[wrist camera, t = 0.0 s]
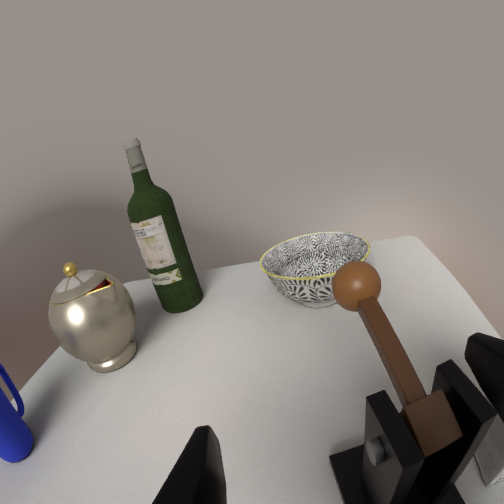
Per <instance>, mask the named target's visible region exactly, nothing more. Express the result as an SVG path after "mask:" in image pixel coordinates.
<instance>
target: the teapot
mask: <svg viewBox="0 0 504 504" xmlns="http://www.w3.org/2000/svg"><path fill="white" fill-rule="evenodd" d="M63 269H64V273H65V275H66V276H67V277H66V278H64V279H63V280H62V281H61V282H60V283H59V284H58V286H57V287H56V289H55V290H54V292H53V294H52V297H51V300H50V303H49V312H48V313H49V314H48V315H49V323H50V328H51V331H52V333H53V335H54V337H55V339H56V340H57V342H58V343H59V345H60V346H61V347H62V348H63V349H64V350H65V351H66V352H67V353H69V354H70V355H71V356H73V357H75V358H77V359H79V360H82V361H86V362H87V363H88V366H89V367H90V368H91V369H92V370H94V371H96V372H100V373H106V372H111V371H114V370H117V369H119V368H120V367H122V366H124V365H125V364H126V363H127V362H129V361H130V359H131V358H132V357H133V356H134V354H135V351H136V342H135V340H134V338H133V337H132V336H133V334H134V330H135V325H136V312H135V307H134V303H133V301H132V298H131V296H130V294H129V292H128V291H127V289H126V288H125V287H124V286H123V284H121V282H119V281H118V280H117V279H116V278H114V277H113V276H111V275H109V274H107V273H105V272H102V271H98V270H82V271H78V272H77V267H76V265H75V264H74V263H72V262H68V263H66V264H65V265H64V268H63Z"/></svg>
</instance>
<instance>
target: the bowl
mask: <svg viewBox="0 0 504 504" xmlns="http://www.w3.org/2000/svg"><path fill="white" fill-rule="evenodd" d="M369 252H370V245H369V243H368V242H367V241H366V240H365V239H364V238H362V237H360V236H358V235H355V234H351V233H345V232H319V233H312V234H307V235H302V236H298V237H295V238H292V239H289V240H286V241H284V242H281V243H279V244H277V245H275V246H274V247H272V248H271V249H269V250H268V251H267V252H265V253H264V255H263V256H262V257H261V259H260V267H261V269H262V270H263V271H264V272H265V273H266V274H267V275H268V276H269V278H270V279H271V281H272V282H273V283H274V285H275V286H276V287H277V289H278V290H279V291H280V292H281V293H282V294H283V295H285V296H286V297H288V298H290V299H292V300H294V301H297V302H300V303H301V304H303V305H305V306H307V307H312V308H321V307H327V306H330V305H332V304H334V303H336V300H335V298H334V296H333V293H332V280H333V277H334V275H335V273H336V272H337V270H338V269H339V268H340V267H341V266H342V265H344V264H346V263H348V262H351V261H363V262H365V260H366V258H367V256H368V254H369Z"/></svg>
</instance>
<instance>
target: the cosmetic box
mask: <svg viewBox="0 0 504 504" xmlns="http://www.w3.org/2000/svg"><path fill="white" fill-rule="evenodd" d="M486 399H487V400H488V398H487V397H486ZM488 402H489V403H490V401H489V400H488ZM490 404H491V403H490ZM491 405H492V404H491ZM493 408H494V407H493ZM474 455H475V457H476V460H477V463H478V465H479V468H480V471H481V473H482V476H483V479H484V482H485V485H486V487H489V486H491V485H493V484H495V483H497V482H499V481H501V480H502V479H504V423H503V421H502V420H501V418H500V417H499V415H498V413H497V415H496V417H495V419H494V421H493V423H492V425H491V427H490V428H489V430H488V432H487V434H486V435H485V437H484V439H483V441H482V442H481V444H480V446H479V447H478V449H477V450H476V452H475V454H474Z"/></svg>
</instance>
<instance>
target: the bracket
mask: <svg viewBox="0 0 504 504" xmlns="http://www.w3.org/2000/svg"><path fill="white" fill-rule="evenodd" d="M439 389H442V390H443V392H444V394H445V396H446V398H447V400H448V402H449V405H450V407H451V409H452V411H453V413H454V415H455V417H456V420H457V422H458V424H459V426H460V429H461V431H462V433H463V436H462V437H460V438H459V439H457V440H456V441H454V442H452V443H451V444H449V445H448V446H446V447H444V448H442V449H441V450H439V451H437V452H435V453H433V454H431V455H430V456H428V457H426V458H425V457H424V456H423V454H422V452H421V450H420V449H419V447H418V445H417V443H416V442H415V440H414V438H413V436H412V435H411V433H410V431H409V430H408V428H407V426H406V424H405V423H404V421H403V419H402V418H401V416H400V414H399V413H398V411H397V409H396V408H395V406H394V404H393V403H392V401H391V399H390V398H389V396H388V394H387V393H386V391H385V390H383V391H380V392H377V393H375V394H372V395H370V396H367V397H366V419H365V440H364V444H363V445H360V446H357V447H354V448H352V449H349V450H346V451H343V452H340V453H337V454H333V455H330V456H329V460H330V464H331V467H332V470H333V473H334V476H335V479H336V482H337V485H338V488H339V491H340V494H341V497H342V500H343V504H465V503H464V501H463V499H462V497H461V495H460V494H459V492H458V490H457V488H456V486H455V485H454V483H455V481H456V480H457V479H458V477H459V476H460V475H461V473H462V472H463V470H464V469H465V467H466V466H467V464H468V463H469V461H470V460H471V458H472V457H473V455H474V454H475V452H476V450H477V449H478V447H479V446H480V444H481V442H482V441H483V439H484V437H485V435H486V434H487V432H488V430H489V428H490V427H491V425H492V423H493V421H494V419H495V417H496V415H497V412H496V410H495V409H494V408H493V406H492V405H491V404H490V403H489V402H488V400H487V399H486V398H485V397H484V396H483V395H482V393H481V392H480V391H479V390H478V389H477V388H476V386H475V385H474V384H473V383H472V382H471V381H470V380H469V378H468V377H467V376H466V375H465V374H464V373H463V372H462V371H461V369H460V368H459V367H458V366H457V365H456V364H455V363H454V362H453V361H452V360H451V359H450V360H448V361H446V362H444V363H442V364H440V365H438V366H437V367H436V372H435V377H434V382H433V386H432V391H431V393H433V392H435V391H437V390H439Z"/></svg>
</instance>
